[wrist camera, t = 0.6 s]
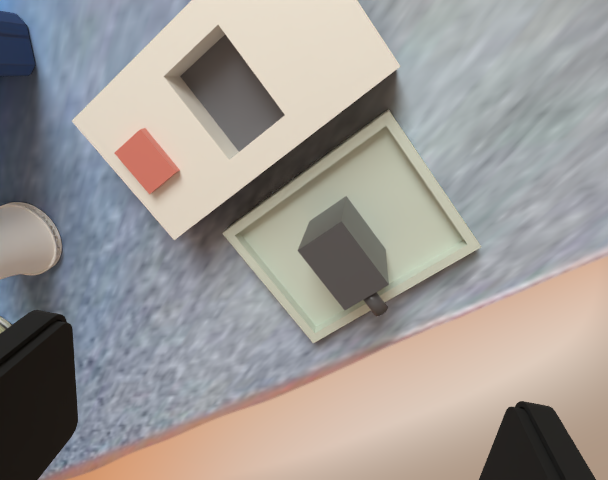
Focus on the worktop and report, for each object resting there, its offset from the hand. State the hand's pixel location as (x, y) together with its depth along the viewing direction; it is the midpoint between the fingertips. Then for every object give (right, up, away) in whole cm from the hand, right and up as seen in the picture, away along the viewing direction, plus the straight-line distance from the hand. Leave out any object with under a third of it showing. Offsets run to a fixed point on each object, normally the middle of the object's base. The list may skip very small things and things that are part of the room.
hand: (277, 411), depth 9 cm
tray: (+5, +4, +30) cm, 31 cm away
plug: (+5, +3, +30) cm, 30 cm away
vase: (-27, +4, +35) cm, 45 cm away
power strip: (-4, +16, +27) cm, 31 cm away
